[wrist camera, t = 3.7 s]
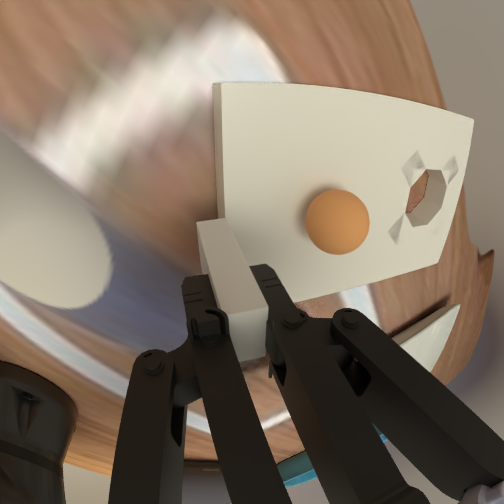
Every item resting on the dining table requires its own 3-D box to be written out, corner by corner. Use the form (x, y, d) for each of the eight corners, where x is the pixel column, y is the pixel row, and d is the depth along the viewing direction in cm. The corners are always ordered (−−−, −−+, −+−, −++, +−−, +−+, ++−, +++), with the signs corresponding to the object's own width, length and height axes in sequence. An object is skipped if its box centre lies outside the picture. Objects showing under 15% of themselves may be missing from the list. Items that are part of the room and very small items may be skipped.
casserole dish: (282, 473, 72) (290, 490, 67) (251, 469, 59) (259, 492, 53) (386, 418, 71) (397, 435, 65) (382, 403, 58) (396, 425, 52)
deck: (423, 251, 29) (437, 262, 27) (223, 295, 24) (230, 316, 22) (454, 113, 21) (474, 119, 19) (212, 83, 15) (221, 83, 13)
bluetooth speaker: (136, 465, 41) (144, 509, 33) (157, 452, 39) (168, 503, 31) (225, 470, 54) (237, 506, 46) (251, 457, 52) (265, 495, 44)
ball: (342, 230, 21) (374, 261, 17) (292, 238, 20) (320, 273, 16) (350, 178, 18) (388, 203, 15) (297, 182, 17) (330, 209, 14)
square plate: (448, 288, 38) (464, 303, 35) (416, 371, 54) (425, 383, 51) (296, 372, 35) (308, 396, 32) (310, 429, 51) (317, 444, 48)
